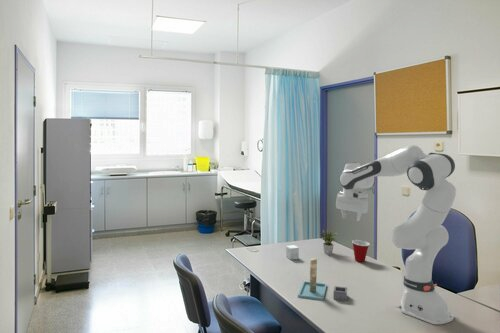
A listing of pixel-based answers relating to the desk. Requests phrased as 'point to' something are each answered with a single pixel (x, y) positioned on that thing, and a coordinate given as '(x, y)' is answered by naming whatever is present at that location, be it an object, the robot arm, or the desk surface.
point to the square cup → (340, 293)
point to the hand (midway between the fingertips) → (351, 219)
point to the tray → (316, 295)
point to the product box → (292, 252)
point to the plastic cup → (360, 250)
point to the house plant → (328, 246)
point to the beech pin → (313, 275)
